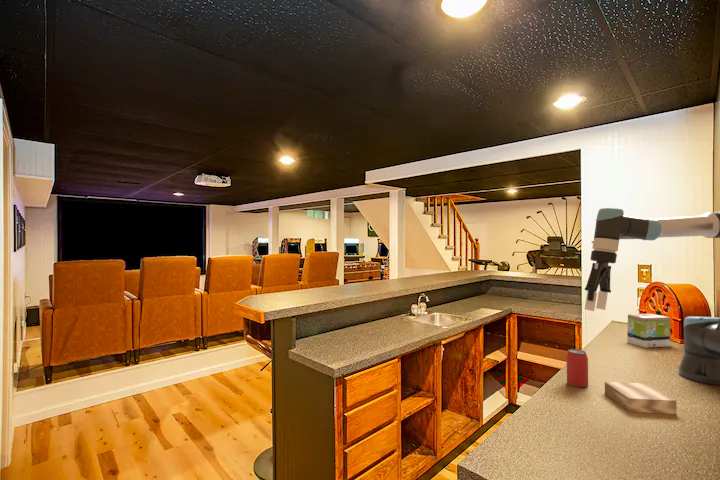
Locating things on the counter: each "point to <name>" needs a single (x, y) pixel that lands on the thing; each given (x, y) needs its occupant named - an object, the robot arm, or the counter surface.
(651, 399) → the maple base
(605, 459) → the counter surface
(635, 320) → the tea box
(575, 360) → the beer can
